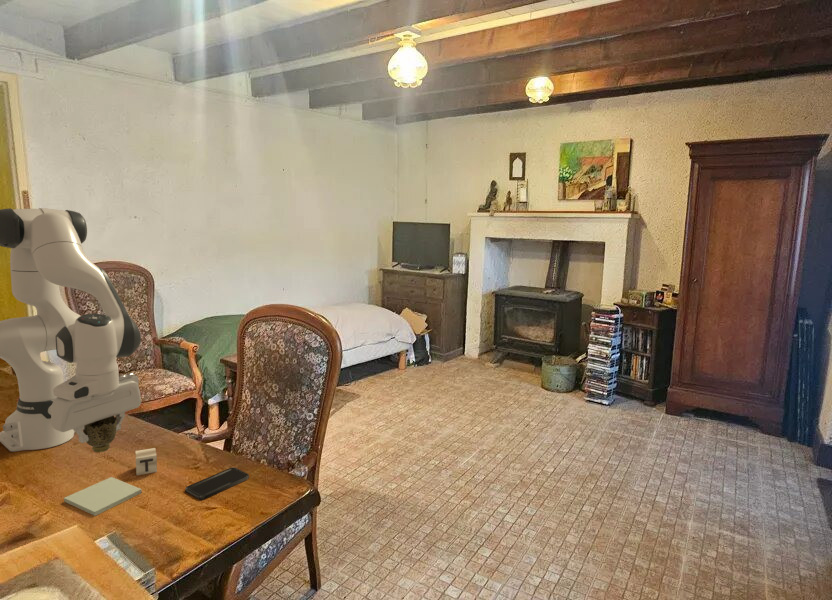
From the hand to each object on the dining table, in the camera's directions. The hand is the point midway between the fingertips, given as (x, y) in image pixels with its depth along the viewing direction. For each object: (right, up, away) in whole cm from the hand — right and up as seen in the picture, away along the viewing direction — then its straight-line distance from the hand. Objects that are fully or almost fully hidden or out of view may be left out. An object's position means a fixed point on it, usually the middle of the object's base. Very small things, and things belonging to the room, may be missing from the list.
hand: (100, 435), depth 126 cm
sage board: (-1, -16, +3) cm, 16 cm away
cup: (0, -4, 0) cm, 4 cm away
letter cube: (+2, -14, +17) cm, 22 cm away
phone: (+25, -17, +12) cm, 32 cm away
